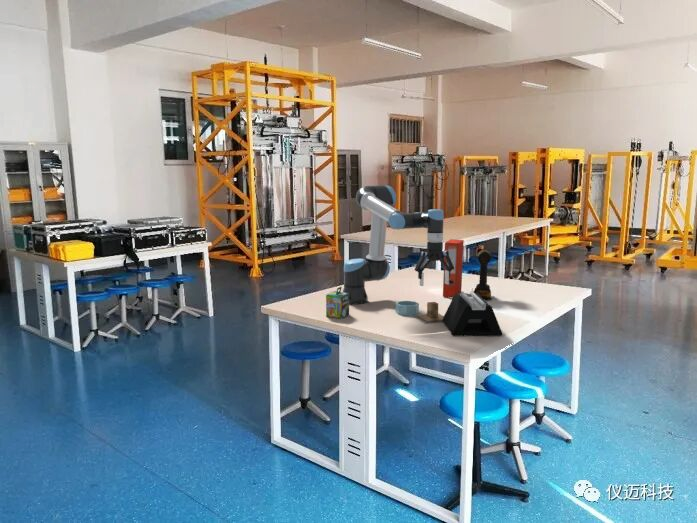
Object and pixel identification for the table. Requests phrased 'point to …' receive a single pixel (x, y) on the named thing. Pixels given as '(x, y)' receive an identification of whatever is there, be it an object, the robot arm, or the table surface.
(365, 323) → the table surface
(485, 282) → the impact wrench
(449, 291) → the file binder
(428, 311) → the lid
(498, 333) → the device stand
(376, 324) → the table surface
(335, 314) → the chalk box
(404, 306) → the bowl
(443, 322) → the mat
